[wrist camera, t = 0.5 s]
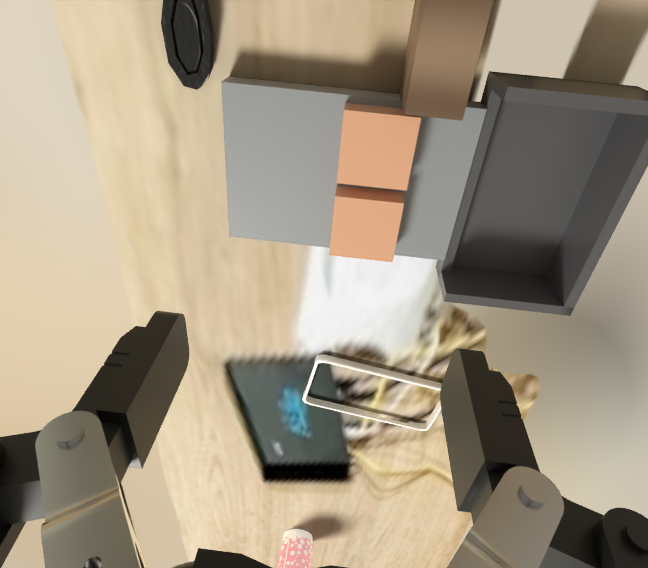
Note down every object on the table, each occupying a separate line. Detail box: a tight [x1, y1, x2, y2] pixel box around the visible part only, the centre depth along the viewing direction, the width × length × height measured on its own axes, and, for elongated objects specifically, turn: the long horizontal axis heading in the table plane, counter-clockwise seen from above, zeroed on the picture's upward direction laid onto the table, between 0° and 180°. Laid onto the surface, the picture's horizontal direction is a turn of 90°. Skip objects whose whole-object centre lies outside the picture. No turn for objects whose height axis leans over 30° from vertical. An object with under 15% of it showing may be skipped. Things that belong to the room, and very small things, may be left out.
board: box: [222, 76, 487, 260], centre depth 34 cm, size 12×18×2 cm, turn 85°
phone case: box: [303, 354, 442, 431], centre depth 49 cm, size 7×1×15 cm
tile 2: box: [329, 185, 404, 262], centre depth 34 cm, size 5×5×2 cm
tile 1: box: [337, 103, 421, 191], centre depth 31 cm, size 5×5×2 cm
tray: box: [436, 72, 648, 316], centre depth 33 cm, size 16×10×5 cm, turn 175°
